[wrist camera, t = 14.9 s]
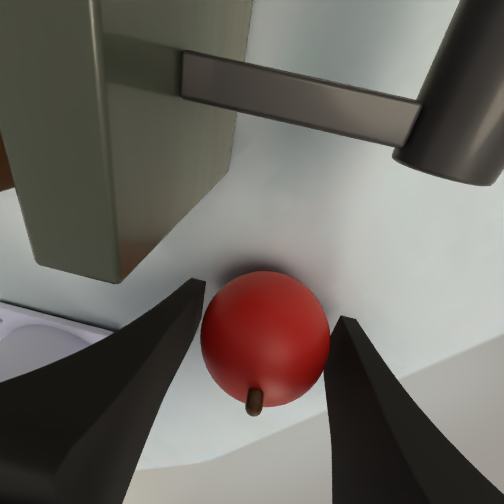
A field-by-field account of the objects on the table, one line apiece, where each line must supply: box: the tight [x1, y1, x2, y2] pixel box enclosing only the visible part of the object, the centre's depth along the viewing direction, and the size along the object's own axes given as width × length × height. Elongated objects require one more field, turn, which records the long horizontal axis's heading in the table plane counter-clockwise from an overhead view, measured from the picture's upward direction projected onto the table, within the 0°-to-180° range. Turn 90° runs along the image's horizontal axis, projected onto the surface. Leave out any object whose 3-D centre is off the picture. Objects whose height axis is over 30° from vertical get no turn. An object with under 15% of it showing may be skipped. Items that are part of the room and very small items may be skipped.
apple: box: [200, 271, 330, 416], centre depth 10 cm, size 5×5×5 cm
